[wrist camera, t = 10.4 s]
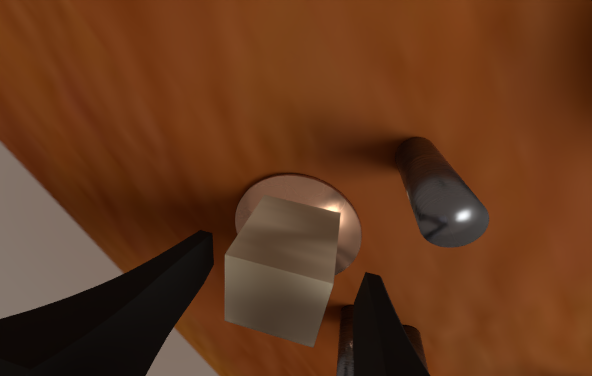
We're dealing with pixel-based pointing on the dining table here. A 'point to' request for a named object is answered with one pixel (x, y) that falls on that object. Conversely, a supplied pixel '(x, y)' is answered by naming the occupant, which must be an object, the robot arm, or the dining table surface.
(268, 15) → the dining table surface
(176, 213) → the dining table surface
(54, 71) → the dining table surface
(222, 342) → the dining table surface
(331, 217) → the block
